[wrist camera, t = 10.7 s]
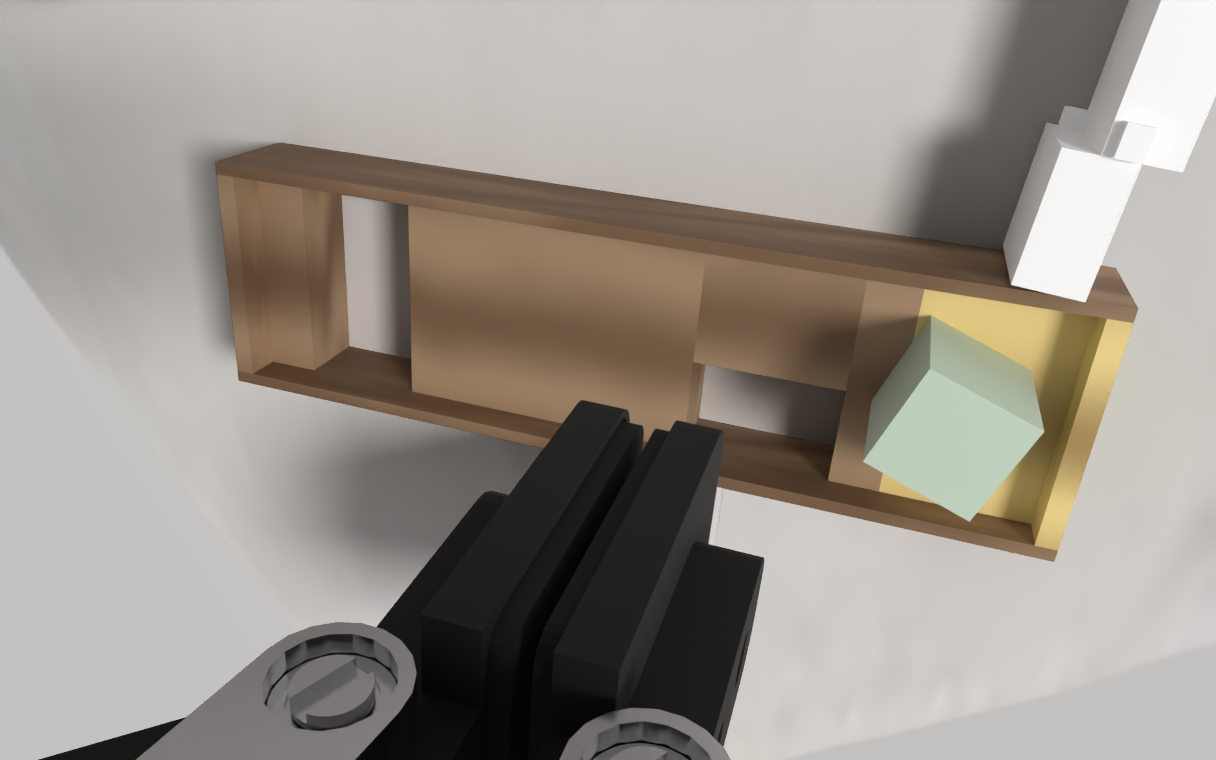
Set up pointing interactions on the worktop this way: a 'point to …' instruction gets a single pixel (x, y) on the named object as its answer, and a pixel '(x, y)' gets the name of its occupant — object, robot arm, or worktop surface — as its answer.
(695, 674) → the robot arm
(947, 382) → the block
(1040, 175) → the napkin holder
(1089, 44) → the worktop surface
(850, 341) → the box
